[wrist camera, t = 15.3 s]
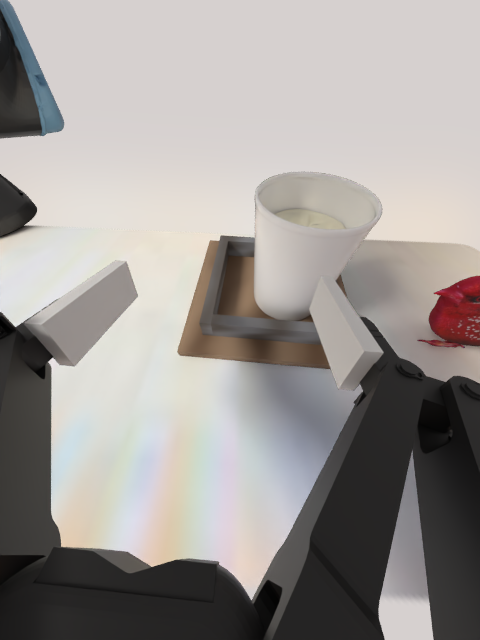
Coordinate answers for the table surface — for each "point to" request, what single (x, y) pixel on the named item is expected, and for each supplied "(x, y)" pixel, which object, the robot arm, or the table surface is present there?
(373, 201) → the candle holder
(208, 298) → the brown square wooden tray
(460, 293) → the decorative bird figurine
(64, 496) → the table surface
